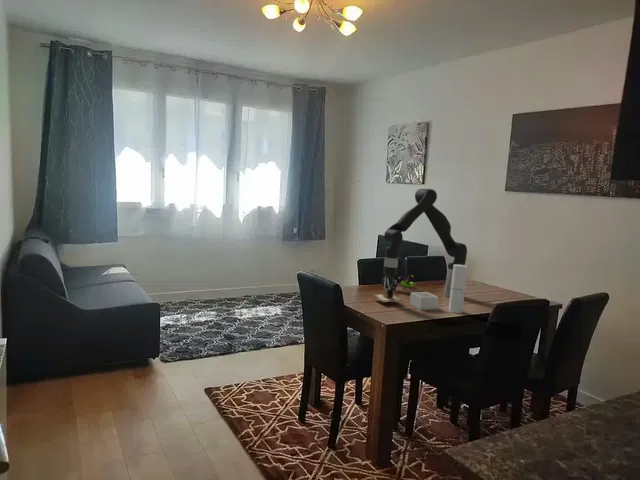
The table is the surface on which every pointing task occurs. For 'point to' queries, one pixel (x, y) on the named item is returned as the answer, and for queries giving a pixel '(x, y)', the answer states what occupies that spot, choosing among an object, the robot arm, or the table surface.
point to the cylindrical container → (457, 288)
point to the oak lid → (385, 297)
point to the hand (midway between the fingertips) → (388, 295)
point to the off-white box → (423, 300)
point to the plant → (406, 287)
